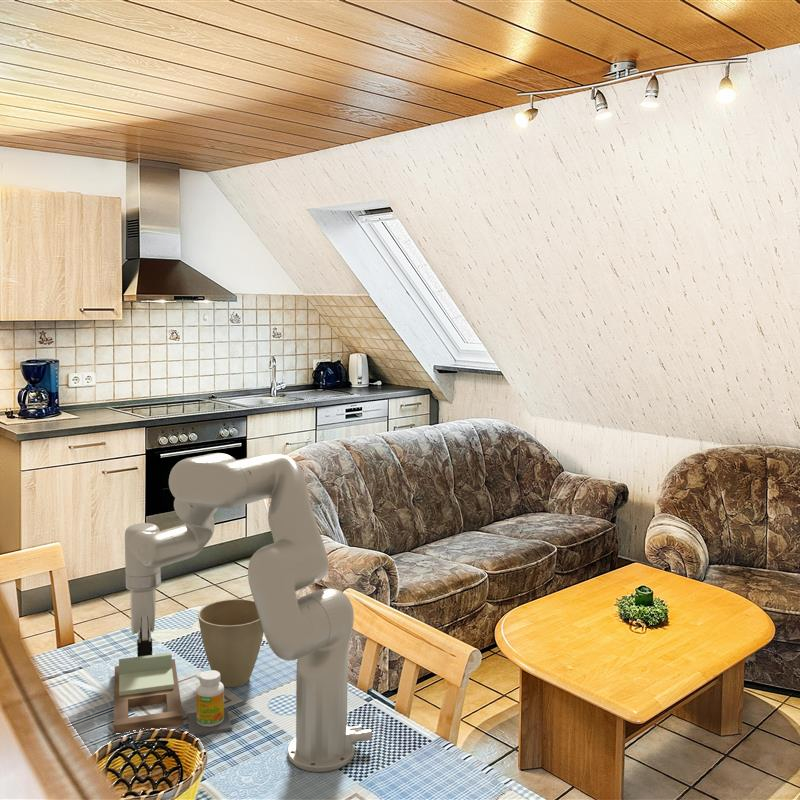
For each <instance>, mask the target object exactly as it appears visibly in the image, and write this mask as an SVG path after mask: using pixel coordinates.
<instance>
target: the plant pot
mask: <svg viewBox="0 0 800 800" xmlns="http://www.w3.org/2000/svg"><path fill="white" fill-rule="evenodd" d="M197 618H198V623H199V628H200V636H201V639H202V644H203V649H204V651H205V656H206V659H207V662H208V665H209V667H210V670H215V671H218V672H219V673H220V682H221V683H222V684H223V685H224V688H225V687H226V688H236V687H240V686H243V685H245V684H247V683H248V682H249V680H250V678H251V676H252V673H253V670H254V668H255V666H256V663H257V660H258V655H259V653H260V649H261V645H262V643H263V642H262V641H263V637H264V631H263V628H262V625H261V622H260V618H259V615H258V612H257V609H256V606H255V602H254V600H252V599H243V598H242V599H240V598H233V599H224V600H219V601H214V602H211V603H209V604H207V605H205V606H203V607H202V608H201V609H200V610H199V611H198V614H197Z"/></svg>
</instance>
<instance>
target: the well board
mask: <svg viewBox="0 0 800 800" xmlns="http://www.w3.org/2000/svg"><path fill="white" fill-rule="evenodd" d="M172 673H173V680H174V689H167V690H160V691H153V692H145V693H138V694H131V695H123V696H119V665H116V666H114V680H113V682H114V687H113V688H114V691H113V693H114V696H113V735H114V734H116V733H124V732H129V731H130V732H131V733H134V732H133V730H136V731H138V732H140V731H139V730H140V729H141V730H144V731H147V730H146V729H151V728H158V729H164V728H170V727H176V726H183V725H184V713H183V706H182V700H181V693H180V692H181V691H180V687H179V680H178V672H177V667H176V660H175V658H172ZM162 704H166V711H165V712H158V713H151V714H150V713H149V714H145V715H144V714H143V715H139V716H131V717H129V709H132V708H133V709H134V708H140V707H146V706H147V707H149V706H154V705H162ZM143 728H144V729H143ZM151 730H152V729H151Z"/></svg>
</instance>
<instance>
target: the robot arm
mask: <svg viewBox="0 0 800 800" xmlns="http://www.w3.org/2000/svg"><path fill="white" fill-rule="evenodd" d="M169 473H170V474H169V476H168V477H169V478H168V487H169V491H170V492H171V494H172V496H173V498H174V500H173V509H174V512H175V513H176V515H177V516H178V518H179V519H180V520H181V521H182V522H184V523H183V524H182V525H177V526H174V527H171V528H166V529H162V530H160V528H159V526H158V525H156V524H154V523H149V522H141V523H135V524H132V525H130V526H128V527H127V528H126V529H125V530H124V555H125V556H124V562H125V563H124V565H125V566H124V567H125V569H124V570H125V588H126V589H127V590H128V591H130V627H131V628H130V631H131V634H132V635H133V636H135V634H137V639H136V640H137V641H136V645H137V646H136V647H137V648H136V650H137V651H136V654H137V657H140V656H149V655H153V638H152V633H154V631H155V625H156V604H157V603H156V598H157V597H156V596H157V595H156V589H157V588H159V587H161V584H162V577H161V576H162V575H161V573H162V571H161V568H163V567H166V566H169V565H172V564H176V563H179V562H181V561H185V560H189V559H191V558H194V557H195V556H196V555H198V554H199V553H200V552H201V551H202V550H203V549H204V548H205V547H206V545H207V544H208V543H209V542H210V540H211V539H212V538H213V536H214V532H215V517H214V515H215V514H216V512H217V511H218V510H219V509H222V510H223V509H233V508H236V507H240V506H244V505H247V504H251V503H252V504H253V503H254V502H255V503H256V502H259V501H262V500H265V499H270V502H269V505H268V511H267V512H268V513H267V520H268V526H269V529H270V531H271V535H272V536H271V537H272V539H273V542H272V543H270V544H266V545H264V546H262V547H261V548H259V549H257V550H256V551H255V552H254V553H253V555H252V556H251V557H250V560H249V562H248V567H247V568H248V569H247V580H248V584H249V585H248V586H249V589H250V592H251V595H252V596H251V597H252V599H253V601H254V602H255V606H256V609H257V612H258V615H259V618H260V622H261V625H262V628H263V631H264V633H263V635H264V637H265V639H266V642H267V644H268V646H269V648H270V650H271V651H272V652H273V654H274V655H276V656H277V658H279V659H281V660H284V661H288V662H289V661H295V660H296V675H295V677H296V679H295V680H296V683H295V684H296V685H295V687H296V689H295V693H296V694H295V696H296V697H295V701H296V703H295V707H296V708H295V712H296V713H295V717H296V718H295V720H296V721H295V737H293V739H292V740H291V741H290V743H289V744H288V746H287V757H288V760H289V761H290V763H291V764H293V766H295V767H297V768H299V769H301V770H304V771H309V772H316V773H317V772H319V773H321V772H322V773H324V772H331V771H334V770H338V769H340V768H342V767H344V766H346V765H348V764H349V763H350V762H351V761H352V760H353V758H354V756H355V752H356V747H355V746H356V745H357V743H358V742H365V741H372V740H373V733H372V730H371V728H370V729H364V730H363V729H362V728H363V727H362V725H361V724H358V725H354V726H350V725H348V678H349V677H348V675H349V651H350V643H351V638H352V633H353V627H354V620H355V616H354V615H355V614H354V608H353V604H352V601H351V600H350V599H349V597H348V596H347V595H346V593H344V592H342V591H341V590H339V589H336V588H330V587H329V588H328V587H327V588H322V589H318V590H315V591H313V592H310V593H308V594H306V595H303V596H301V597H299V598H298V597H297V594H296V592H298V591H301V590H303V589H305V588H307V587H310V586H312V585H314V584H317V583H318V582H320V581H321V580H322V579H324V578H325V577H327V574H328V572H329V567H330V562H329V556H328V553H327V550H326V547H325V544H324V542H323V538H322V535H321V531H320V529H319V526H318V522H317V520H316V517H315V514H314V511H313V508H312V505H311V501H310V495H309V494H310V493H309V489H308V484H307V480H306V476H305V474H304V471H303V470H302V467H301V466H300V465H299V464H298V462H297V461H296V460H295V459H293V458H292V457H290V456H288V455H286V454H281V453H268V454H260V455H254V456H249V457H244V458H241V459H236V458H235V457H233V456H231V455H229V454H227V453H222V452H215V453H207V454H204V455H198V456H192V457H186V458H184V459H181V460H180V461H178V462H177V463H176V464H175V465H174V466H173V467H172V468H171V470H170V472H169Z"/></svg>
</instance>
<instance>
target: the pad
mask: <svg viewBox="0 0 800 800" xmlns="http://www.w3.org/2000/svg"><path fill="white" fill-rule="evenodd" d="M186 718H187V725H188V732H191V733H193V734H194V735H196V736H195V737H199V736H205V735H210V734H218V733H224V732H230V731H231V732H232V731H233V728H232V727H233V726H232V723H231V719H230V715H229V710H228V708H227V707H224V720H223V721H222V722H221V723H220V724H218V725H216V726H212V727H204V726H201V725H199V724H198V723H197V711H196V712H189V713H186Z"/></svg>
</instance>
